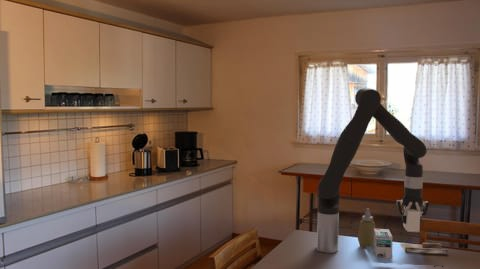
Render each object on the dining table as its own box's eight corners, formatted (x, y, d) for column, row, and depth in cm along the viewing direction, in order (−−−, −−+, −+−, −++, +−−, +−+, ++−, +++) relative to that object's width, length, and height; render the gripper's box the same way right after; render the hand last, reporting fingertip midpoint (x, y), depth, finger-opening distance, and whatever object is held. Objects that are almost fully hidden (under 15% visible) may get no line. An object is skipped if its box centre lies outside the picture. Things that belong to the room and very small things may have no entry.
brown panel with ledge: (405, 256, 187) (405, 248, 187) (399, 246, 199) (399, 239, 199) (447, 258, 185) (447, 250, 184) (438, 248, 197) (438, 241, 196)
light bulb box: (392, 261, 181) (393, 236, 180) (375, 260, 182) (376, 235, 181) (388, 252, 191) (389, 228, 190) (373, 251, 193) (373, 228, 192)
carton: (407, 231, 189) (408, 211, 189) (403, 226, 197) (404, 206, 197) (419, 232, 189) (420, 211, 188) (414, 226, 197) (415, 207, 196)
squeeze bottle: (378, 246, 199) (379, 208, 198) (373, 251, 193) (374, 211, 191) (360, 243, 204) (361, 205, 202) (355, 248, 197) (356, 209, 196)
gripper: (398, 187, 189) (396, 225, 190) (432, 188, 187) (430, 227, 188) (394, 183, 196) (393, 220, 198) (427, 185, 194) (425, 222, 196)
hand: (411, 223), depth 193 cm, fingers closed on carton, 5 cm apart
